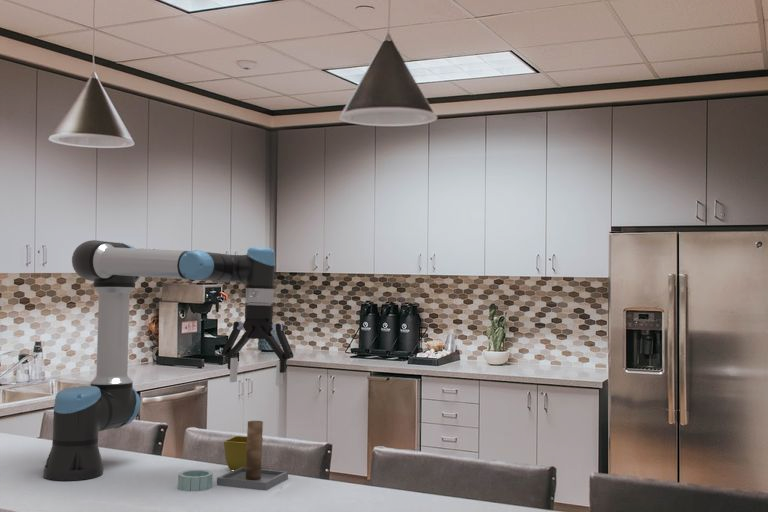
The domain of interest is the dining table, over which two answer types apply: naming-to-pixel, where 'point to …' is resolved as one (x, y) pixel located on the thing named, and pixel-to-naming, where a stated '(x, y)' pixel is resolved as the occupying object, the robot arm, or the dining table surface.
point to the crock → (195, 480)
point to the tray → (239, 480)
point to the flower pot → (236, 452)
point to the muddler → (254, 450)
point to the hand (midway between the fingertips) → (255, 383)
